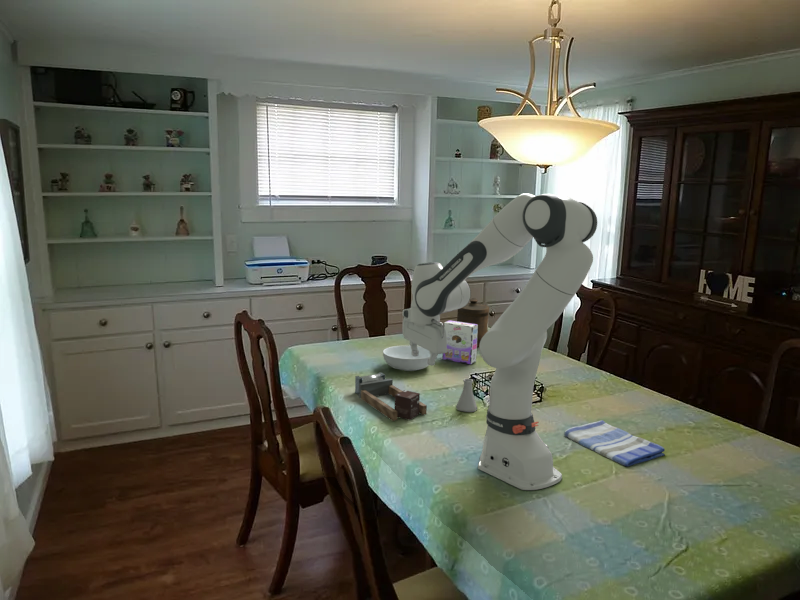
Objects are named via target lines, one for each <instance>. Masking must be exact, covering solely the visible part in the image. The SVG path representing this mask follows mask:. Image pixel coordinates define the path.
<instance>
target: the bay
mask: <svg viewBox="0 0 800 600" xmlns="http://www.w3.org/2000/svg"><path fill="white" fill-rule="evenodd" d="M402 391H403V390H402V389H399V387H397V386H396V385H394V384H393V379H392V378H390V377H389V378H385V379H384V380H378V381H372V382H366V383H360V384H359V395H358V398H359V399H360V400H362V401H364V402H365V403H366V404H368V405H369V406H370V407H372V408H373V409H375V410H376V411H378V412H379V413H380V414H382V415H383V414H384V416H385V417H386V416H387V417H386V418H387V419H389V418H390V420H391V421H392V422H396V421H398V417H397V411H396V410H395V408H394V407H392V406H390V405H388V404H387V403H386V402H384V401H382V400H381V399H380V398H378V397H379V396H383V395H384V394H385V395H390V396H391V395H392V396H391V397H393V398H395V395H396V394H398V393H399V392H402ZM378 395H379V396H378ZM427 407H428V406H427V404H425V403H424V402H422V401H420V400H419V415H422V416H425V415H427V411H428V410H427ZM424 414H425V415H424ZM395 420H396V421H395Z"/></svg>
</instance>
